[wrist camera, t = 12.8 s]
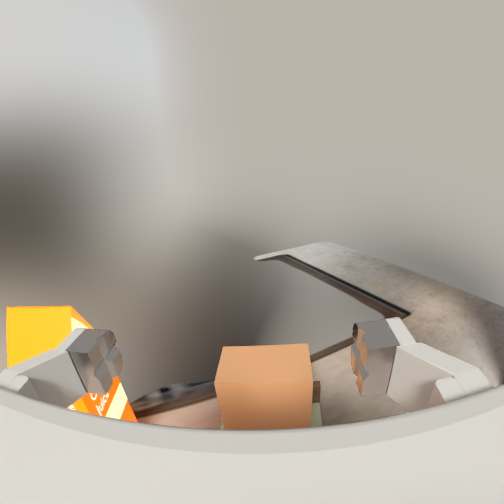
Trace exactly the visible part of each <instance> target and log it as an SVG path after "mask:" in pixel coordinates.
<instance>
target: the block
mask: <svg viewBox="0 0 504 504" xmlns="http://www.w3.org/2000/svg"><path fill="white" fill-rule="evenodd" d="M214 384H215V389H216V394H217V398H218V403H219V407H220V412H221V416H222V420H223V425H224V429H226V430H269V429H292V428H307V427H311V414H312V395H313V376H312V369H311V362H310V355H309V349H308V344H307V343H305V344H288V345H267V346H237V347H236V346H235V347H223V350H222V354H221V358H220V362H219V366H218V370H217V374H216V378H215V382H214Z"/></svg>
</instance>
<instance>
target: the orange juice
mask: <svg viewBox="0 0 504 504" xmlns="http://www.w3.org/2000/svg"><path fill="white" fill-rule="evenodd" d="M75 328H88V329H93V328H92V327H91V326H90V325H89V324H88V323H87V322H86V321H85V320H84V319H83V318H82V317H81V316H80V315H79V314H78V313H77V312H76V311H75V310H74V309H73V308H72V307H71V306H52V307H51V306H49V307H7V358H8V368H9V367H11V366H14V365H16V364H18V363H21V362H23V361H25V360H28V359H30V358H32V357H34V356H37V355H39V354H41V353H44V352H46V351H48V350H51V349H55V348H56V347H57V346H58V345H59V344H60V343H61V342H62V341H63V340H64V339H65V338H66V337H67V336H68V335H69V334H70V333H71V332H72V331H73V330H74V329H75ZM112 380H113V385H112V387H111V388H110V390H109V391H108V393H107V395H100V394H93V393H87V394H86V395H85V396H83V397H82V398H80V399H79V400H78V401H76V402H75V403H73V404H72V405H71V406H69V407H68V409H72V410H77V411H81V412H85V413H90V414H95V415H99V416H105V417H110V418H115V419H121V420H127V421H134V422H137V419H136V417H135V415H134V413H133V411H132V409H131V406H130V404H129V402H128V400H127V396H126V394H125V392H124V389H123V387H122V384H121V383H120V381H119V378H118V376H117V377H115V378H113V379H112Z"/></svg>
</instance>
